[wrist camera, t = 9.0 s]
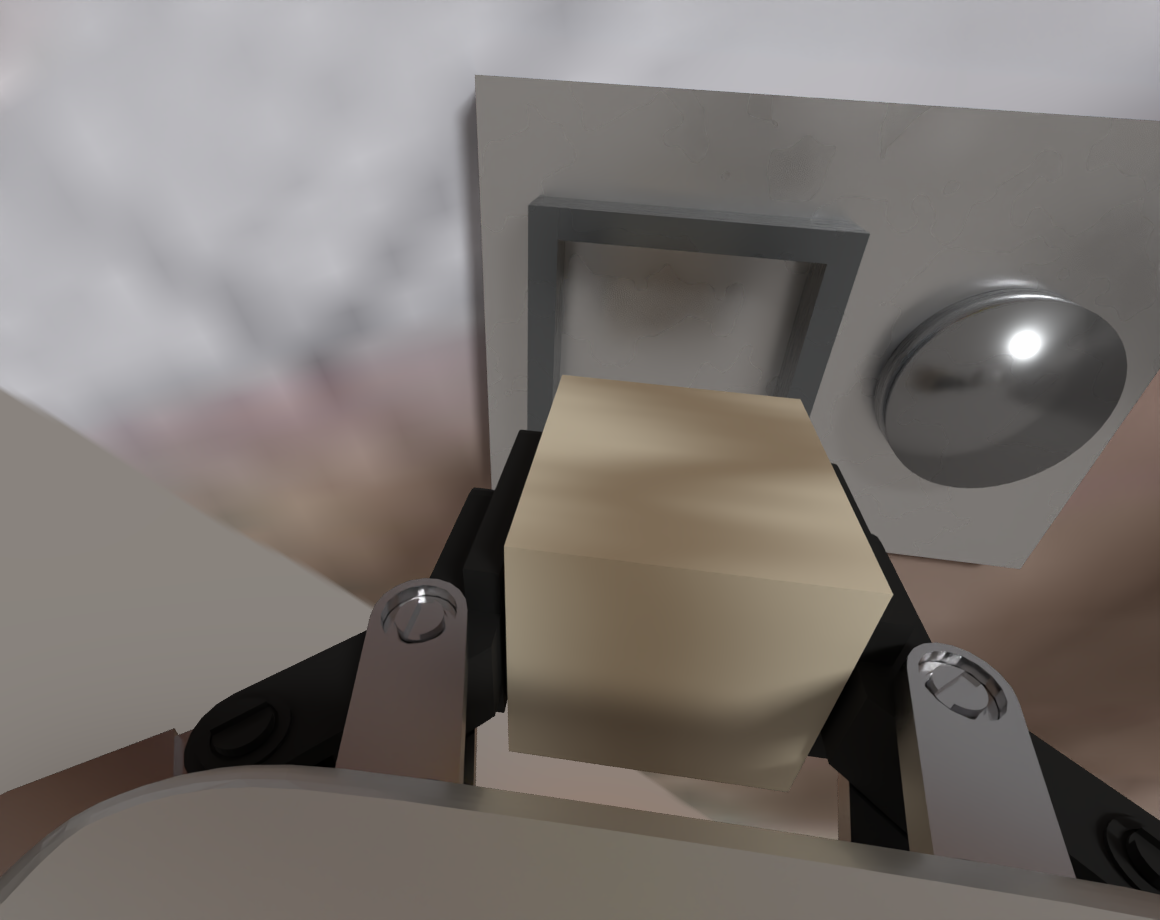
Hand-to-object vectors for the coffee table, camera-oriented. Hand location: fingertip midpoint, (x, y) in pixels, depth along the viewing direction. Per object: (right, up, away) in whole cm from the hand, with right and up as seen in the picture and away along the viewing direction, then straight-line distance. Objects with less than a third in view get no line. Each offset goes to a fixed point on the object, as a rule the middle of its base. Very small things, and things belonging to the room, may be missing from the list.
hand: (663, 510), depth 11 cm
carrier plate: (+5, +4, +7) cm, 10 cm away
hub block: (0, +1, +1) cm, 1 cm away
